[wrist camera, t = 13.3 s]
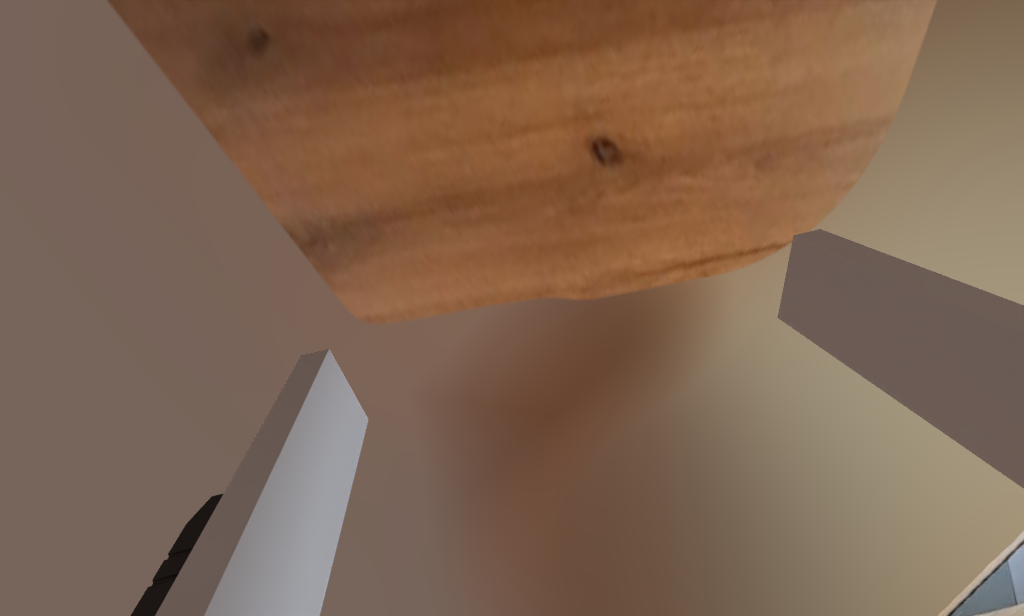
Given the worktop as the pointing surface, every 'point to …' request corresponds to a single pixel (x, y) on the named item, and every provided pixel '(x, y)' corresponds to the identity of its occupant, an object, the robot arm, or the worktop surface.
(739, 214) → the worktop surface
